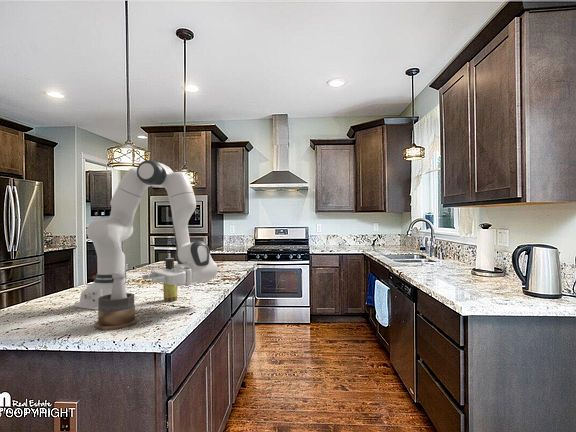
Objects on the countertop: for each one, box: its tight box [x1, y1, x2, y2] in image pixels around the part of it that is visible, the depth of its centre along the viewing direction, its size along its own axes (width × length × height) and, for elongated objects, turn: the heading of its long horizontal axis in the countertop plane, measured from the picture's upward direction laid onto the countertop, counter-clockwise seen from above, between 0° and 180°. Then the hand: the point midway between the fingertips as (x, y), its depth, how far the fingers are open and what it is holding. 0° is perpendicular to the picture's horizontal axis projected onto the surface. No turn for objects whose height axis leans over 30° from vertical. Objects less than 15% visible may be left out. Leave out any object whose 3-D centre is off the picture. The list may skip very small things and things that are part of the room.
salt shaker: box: [110, 271, 127, 300], centre depth 121 cm, size 6×6×13 cm
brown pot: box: [94, 292, 139, 331], centre depth 121 cm, size 14×14×10 cm
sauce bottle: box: [162, 257, 178, 302], centre depth 156 cm, size 7×6×20 cm
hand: (147, 278), depth 129 cm, fingers open, 8 cm apart
